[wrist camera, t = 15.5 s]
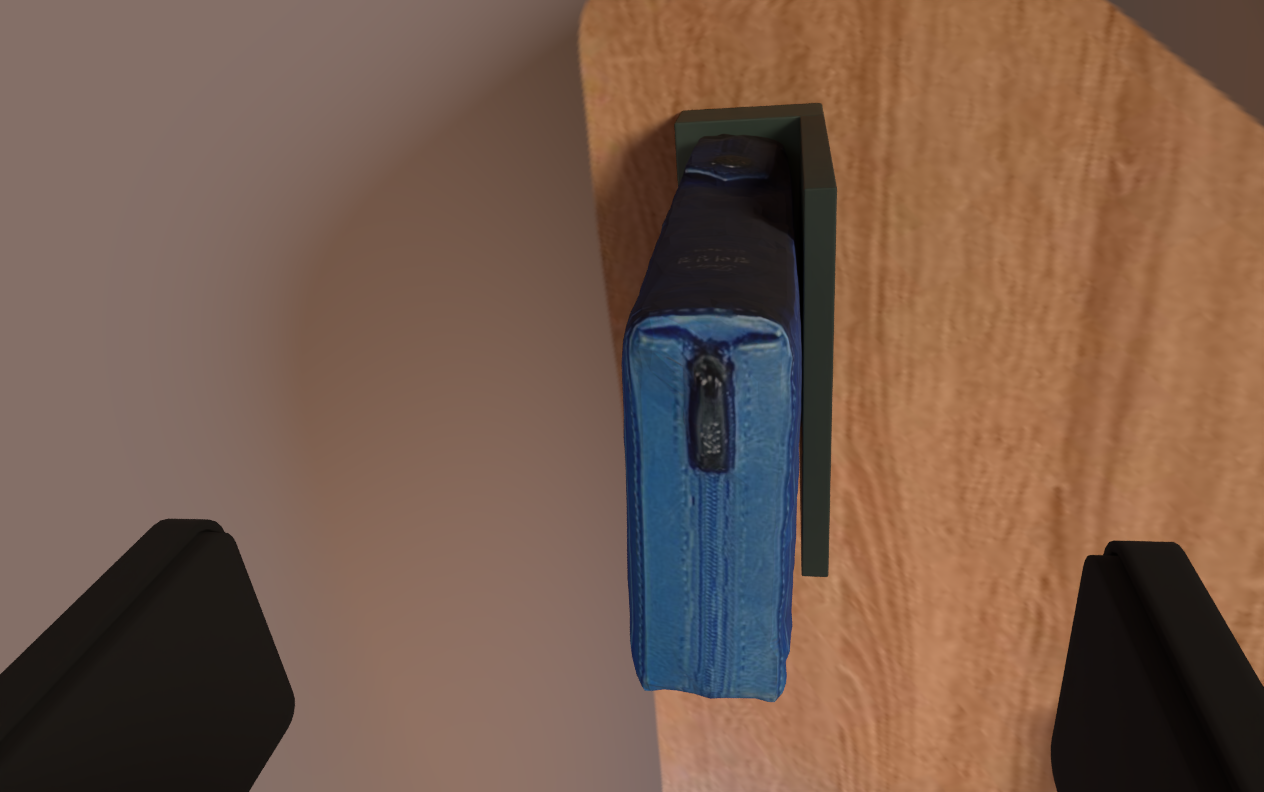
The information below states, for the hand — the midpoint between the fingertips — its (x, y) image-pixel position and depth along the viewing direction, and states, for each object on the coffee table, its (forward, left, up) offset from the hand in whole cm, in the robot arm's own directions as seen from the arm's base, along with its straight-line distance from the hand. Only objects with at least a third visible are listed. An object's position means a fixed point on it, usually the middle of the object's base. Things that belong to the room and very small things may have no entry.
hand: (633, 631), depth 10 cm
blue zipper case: (+7, +3, -33) cm, 33 cm away
